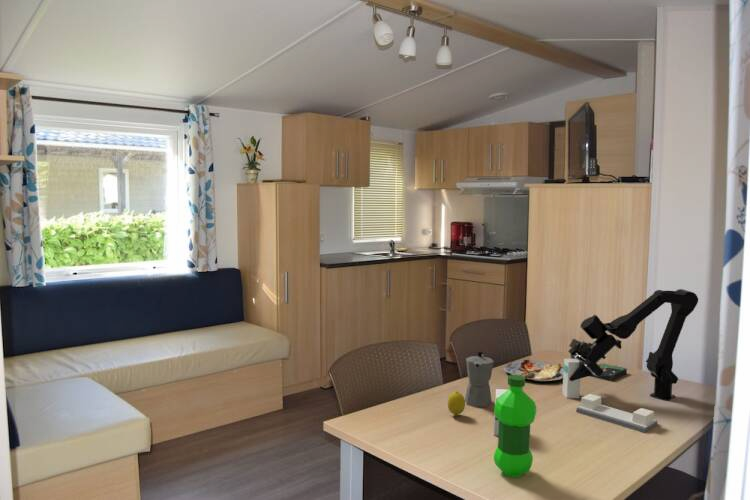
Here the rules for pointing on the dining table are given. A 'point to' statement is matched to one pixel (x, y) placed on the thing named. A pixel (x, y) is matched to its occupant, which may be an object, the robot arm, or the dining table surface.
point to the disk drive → (610, 372)
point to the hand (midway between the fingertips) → (567, 377)
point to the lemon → (456, 403)
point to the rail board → (617, 414)
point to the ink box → (496, 421)
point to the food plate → (536, 370)
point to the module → (570, 387)
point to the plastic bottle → (514, 428)
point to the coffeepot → (479, 380)
